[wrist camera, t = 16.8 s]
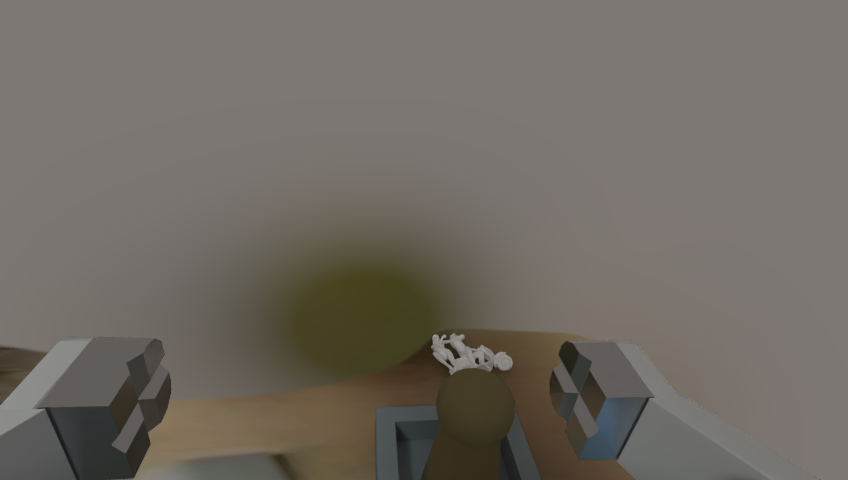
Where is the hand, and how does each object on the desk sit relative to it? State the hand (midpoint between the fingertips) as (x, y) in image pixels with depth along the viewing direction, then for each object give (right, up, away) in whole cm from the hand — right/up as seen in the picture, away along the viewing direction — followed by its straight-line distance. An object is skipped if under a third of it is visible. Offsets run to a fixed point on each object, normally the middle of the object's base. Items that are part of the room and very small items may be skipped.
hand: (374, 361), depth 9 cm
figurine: (+5, -11, +38) cm, 40 cm away
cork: (+4, -17, +24) cm, 30 cm away
